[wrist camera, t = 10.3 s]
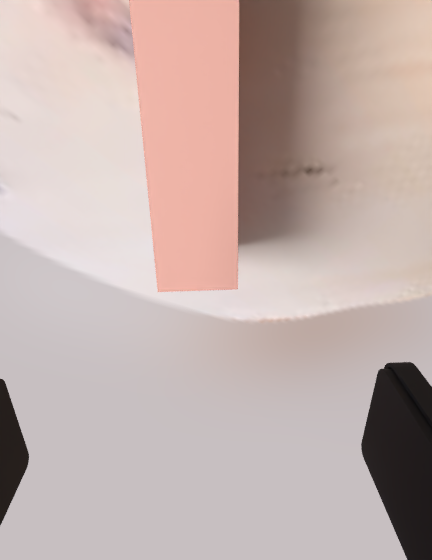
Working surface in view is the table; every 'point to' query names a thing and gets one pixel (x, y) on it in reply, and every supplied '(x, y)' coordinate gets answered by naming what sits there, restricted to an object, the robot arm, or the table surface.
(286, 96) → the table surface
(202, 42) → the pink rectangular block
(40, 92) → the table surface
